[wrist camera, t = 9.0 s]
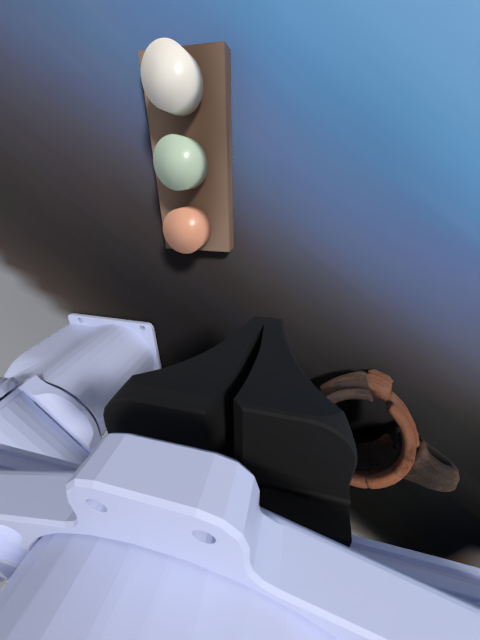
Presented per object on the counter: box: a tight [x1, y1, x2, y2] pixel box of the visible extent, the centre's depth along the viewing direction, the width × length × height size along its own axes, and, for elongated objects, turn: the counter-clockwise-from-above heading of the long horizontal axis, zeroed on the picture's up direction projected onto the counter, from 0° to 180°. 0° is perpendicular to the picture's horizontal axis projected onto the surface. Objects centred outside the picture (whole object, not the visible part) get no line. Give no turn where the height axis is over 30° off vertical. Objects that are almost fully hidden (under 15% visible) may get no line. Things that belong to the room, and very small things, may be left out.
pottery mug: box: [320, 369, 459, 492], centre depth 22 cm, size 12×10×8 cm
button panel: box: [138, 41, 234, 252], centre depth 18 cm, size 5×11×1 cm, turn 0°
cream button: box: [141, 38, 203, 116], centre depth 14 cm, size 3×3×2 cm
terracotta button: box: [163, 206, 211, 254], centre depth 18 cm, size 3×3×2 cm
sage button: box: [153, 134, 208, 191], centre depth 16 cm, size 3×3×2 cm
